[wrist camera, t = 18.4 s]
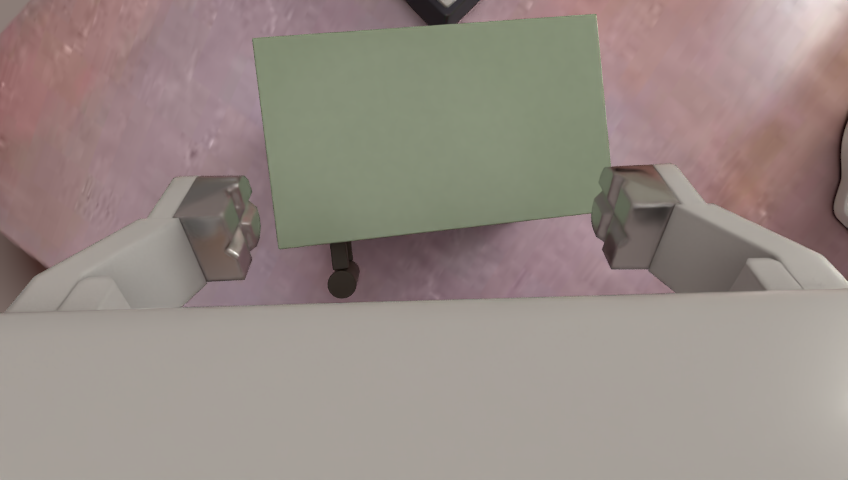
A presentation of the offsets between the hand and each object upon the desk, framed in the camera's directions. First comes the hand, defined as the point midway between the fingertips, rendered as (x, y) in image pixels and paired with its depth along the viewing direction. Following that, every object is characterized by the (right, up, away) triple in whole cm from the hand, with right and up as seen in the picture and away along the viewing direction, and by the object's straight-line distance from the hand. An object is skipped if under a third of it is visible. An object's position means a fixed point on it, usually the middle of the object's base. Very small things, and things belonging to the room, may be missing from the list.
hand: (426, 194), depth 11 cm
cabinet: (-1, +5, +28) cm, 29 cm away
